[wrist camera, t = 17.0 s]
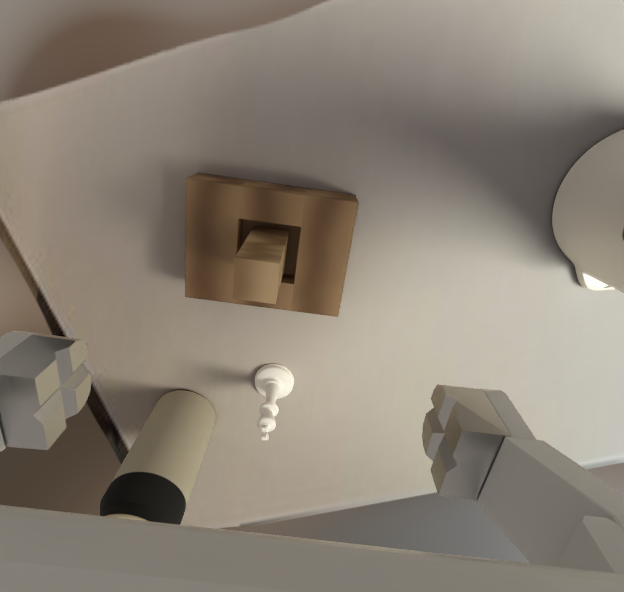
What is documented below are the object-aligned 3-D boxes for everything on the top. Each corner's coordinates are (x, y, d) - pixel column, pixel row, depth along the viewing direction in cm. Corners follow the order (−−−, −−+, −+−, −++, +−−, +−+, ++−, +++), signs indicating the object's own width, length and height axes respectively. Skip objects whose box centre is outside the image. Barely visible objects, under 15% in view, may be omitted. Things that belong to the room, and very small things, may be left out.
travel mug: (144, 398, 52) (64, 528, 36) (199, 381, 51) (140, 507, 35) (174, 442, 55) (112, 580, 39) (226, 427, 54) (185, 563, 38)
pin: (289, 230, 41) (279, 263, 32) (285, 263, 43) (275, 304, 34) (254, 225, 41) (234, 257, 32) (251, 259, 43) (232, 298, 34)
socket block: (355, 194, 41) (358, 202, 38) (336, 300, 46) (338, 316, 42) (198, 172, 41) (185, 178, 37) (196, 282, 46) (185, 296, 42)
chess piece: (258, 397, 52) (244, 457, 43) (251, 365, 50) (236, 421, 41) (296, 394, 52) (290, 454, 43) (291, 362, 50) (284, 417, 41)
